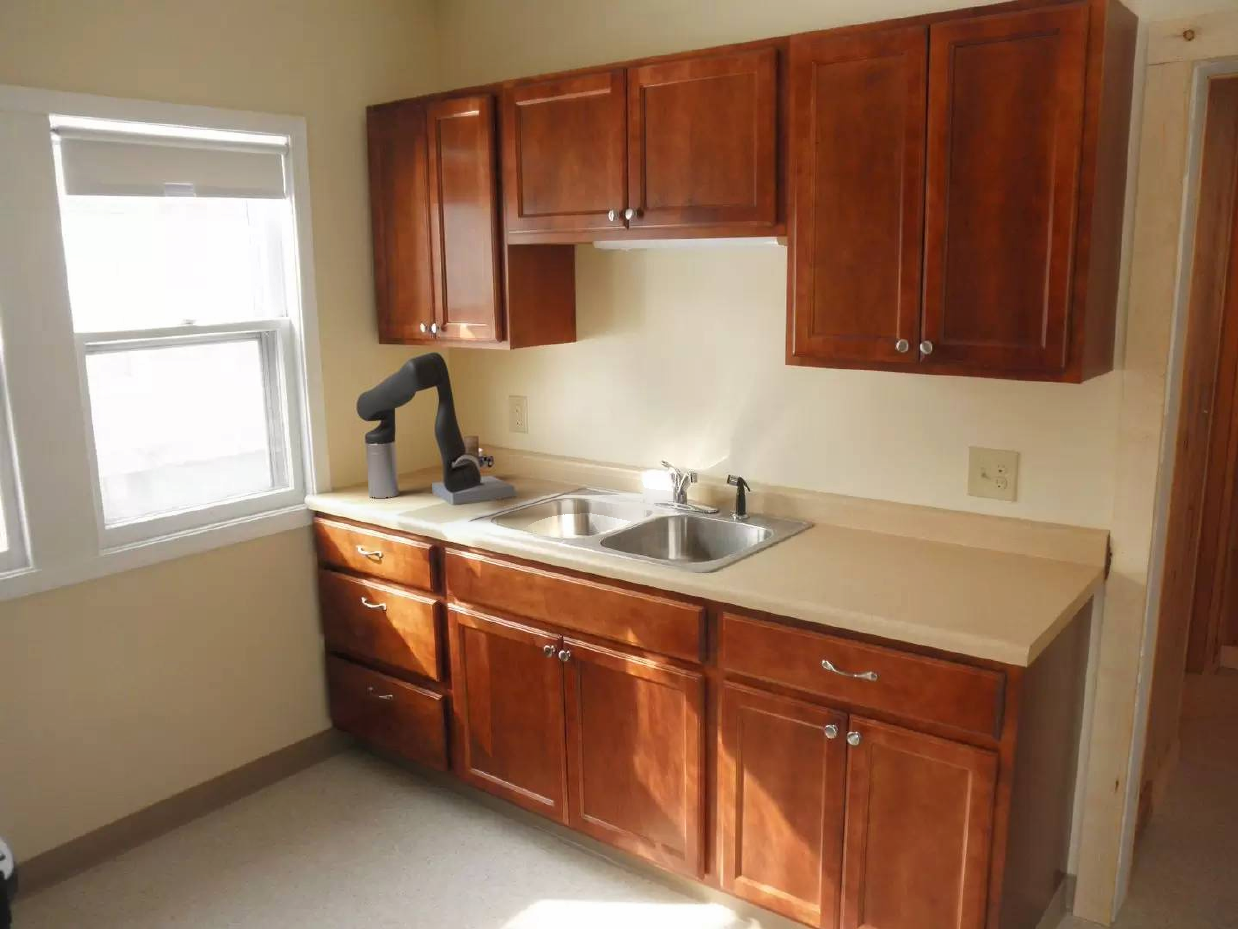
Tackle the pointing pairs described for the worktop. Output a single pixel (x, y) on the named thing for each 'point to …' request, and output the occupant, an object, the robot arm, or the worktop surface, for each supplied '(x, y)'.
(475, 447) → the dowel
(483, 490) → the socket block
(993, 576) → the worktop surface
